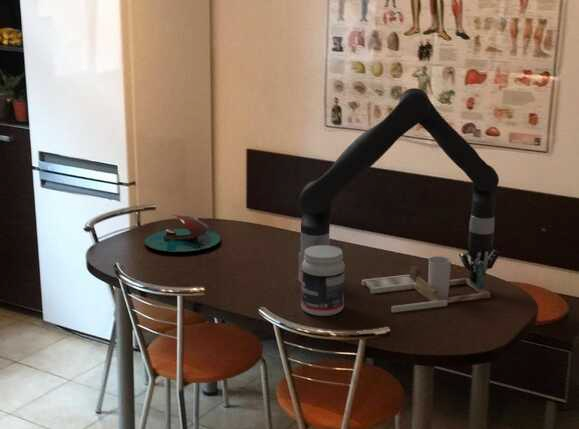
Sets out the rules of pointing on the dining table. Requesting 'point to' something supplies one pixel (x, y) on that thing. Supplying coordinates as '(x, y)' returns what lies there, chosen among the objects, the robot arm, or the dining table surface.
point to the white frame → (478, 286)
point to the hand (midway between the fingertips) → (477, 281)
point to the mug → (439, 275)
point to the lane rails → (404, 287)
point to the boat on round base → (184, 237)
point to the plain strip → (396, 279)
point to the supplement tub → (322, 280)
